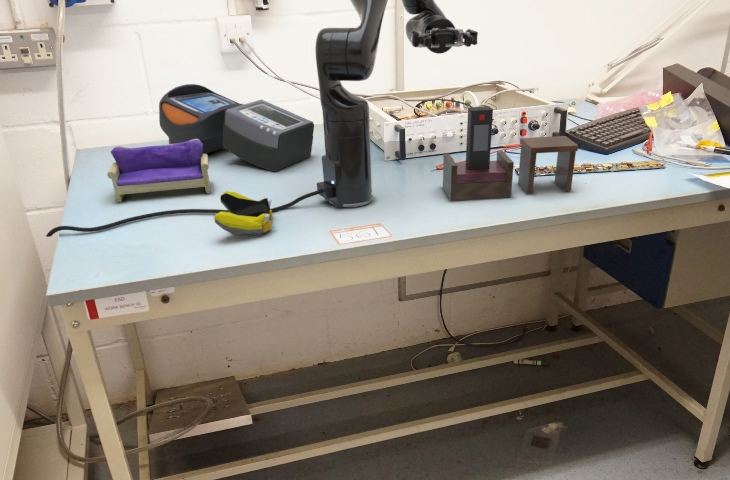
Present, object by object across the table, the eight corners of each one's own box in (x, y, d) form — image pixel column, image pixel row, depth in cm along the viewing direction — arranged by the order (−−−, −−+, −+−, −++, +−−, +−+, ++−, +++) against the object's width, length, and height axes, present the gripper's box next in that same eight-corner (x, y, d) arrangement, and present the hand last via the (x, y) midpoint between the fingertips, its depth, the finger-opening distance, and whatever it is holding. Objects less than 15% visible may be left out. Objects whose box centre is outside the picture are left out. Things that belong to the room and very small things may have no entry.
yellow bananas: (216, 244, 119) (271, 240, 120) (212, 215, 117) (268, 212, 117) (224, 215, 132) (273, 212, 133) (220, 189, 129) (270, 186, 130)
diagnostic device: (146, 82, 159) (210, 68, 176) (148, 147, 170) (208, 128, 186) (269, 138, 148) (325, 118, 164) (263, 204, 158) (316, 178, 175)
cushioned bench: (450, 201, 136) (451, 165, 132) (442, 187, 144) (443, 153, 140) (511, 197, 137) (513, 162, 133) (500, 184, 145) (502, 150, 141)
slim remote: (469, 170, 136) (471, 110, 130) (465, 165, 139) (468, 107, 133) (489, 169, 137) (493, 109, 130) (485, 164, 139) (489, 106, 133)
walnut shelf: (526, 195, 138) (531, 147, 133) (516, 183, 145) (520, 138, 140) (572, 192, 139) (578, 145, 134) (559, 180, 146) (565, 135, 141)
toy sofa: (113, 203, 140) (101, 156, 135) (118, 191, 147) (107, 145, 142) (213, 194, 144) (205, 147, 138) (212, 182, 151) (205, 137, 146)
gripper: (406, 16, 149) (416, 23, 135) (467, 14, 150) (483, 21, 136) (406, 52, 153) (416, 62, 139) (466, 50, 154) (481, 59, 140)
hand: (449, 42), depth 138 cm, fingers open, 8 cm apart
